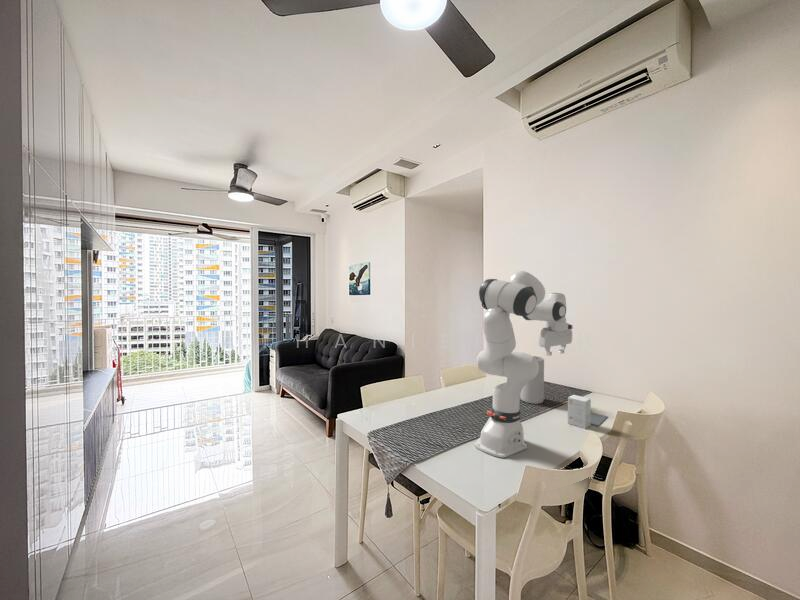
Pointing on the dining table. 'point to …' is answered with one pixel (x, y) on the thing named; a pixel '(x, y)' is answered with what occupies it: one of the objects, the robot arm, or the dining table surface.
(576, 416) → the small box
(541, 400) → the cylinder vase
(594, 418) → the mat
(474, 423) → the dining table surface
